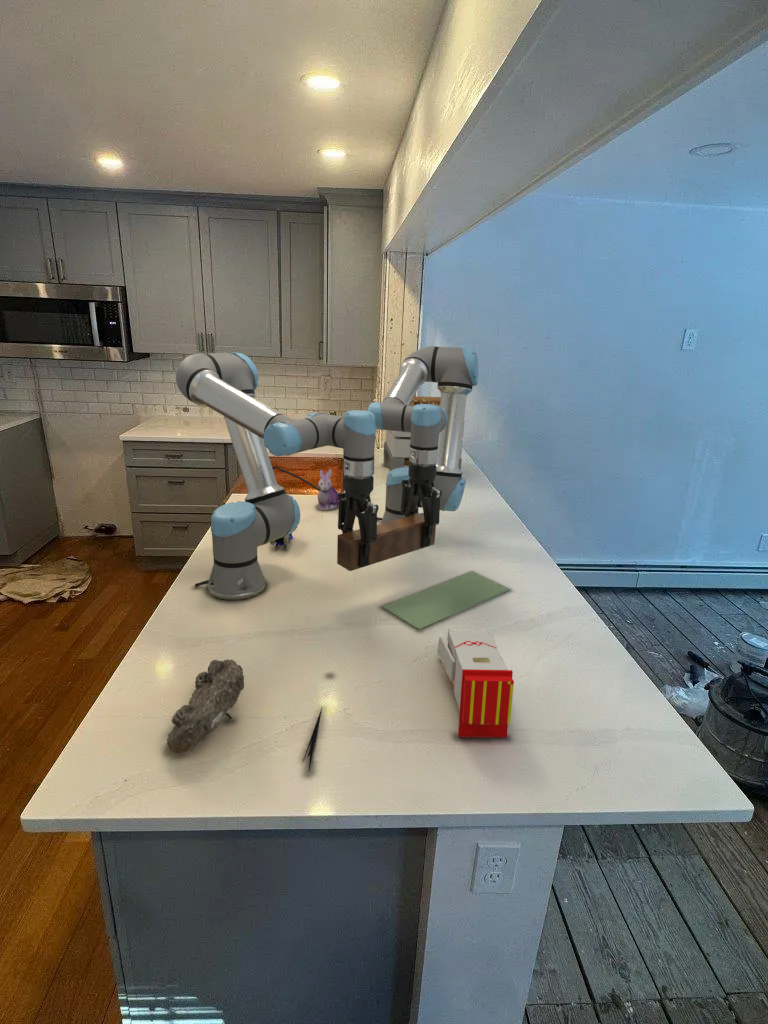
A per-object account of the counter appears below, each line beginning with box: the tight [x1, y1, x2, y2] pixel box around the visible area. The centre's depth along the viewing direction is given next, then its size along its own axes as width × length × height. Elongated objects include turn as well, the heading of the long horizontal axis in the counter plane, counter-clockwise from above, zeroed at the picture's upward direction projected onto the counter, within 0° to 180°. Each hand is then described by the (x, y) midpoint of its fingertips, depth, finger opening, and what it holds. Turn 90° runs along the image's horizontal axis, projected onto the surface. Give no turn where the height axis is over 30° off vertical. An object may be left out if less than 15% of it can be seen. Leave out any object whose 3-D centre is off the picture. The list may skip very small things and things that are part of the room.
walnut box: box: [336, 512, 437, 572], centre depth 152 cm, size 30×6×8 cm, turn 131°
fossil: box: [166, 658, 245, 754], centre depth 106 cm, size 22×10×15 cm
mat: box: [382, 571, 510, 631], centre depth 157 cm, size 14×36×1 cm, turn 131°
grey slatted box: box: [383, 395, 465, 472], centre depth 268 cm, size 34×33×41 cm
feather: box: [301, 673, 332, 771], centre depth 108 cm, size 2×28×2 cm
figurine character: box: [269, 532, 294, 550], centre depth 186 cm, size 7×8×15 cm
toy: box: [437, 628, 515, 738], centre depth 117 cm, size 12×13×30 cm
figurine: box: [317, 468, 339, 511], centre depth 220 cm, size 9×10×15 cm
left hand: (356, 561), depth 146 cm, fingers closed on walnut box, 6 cm apart
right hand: (417, 542), depth 160 cm, fingers closed on walnut box, 6 cm apart
